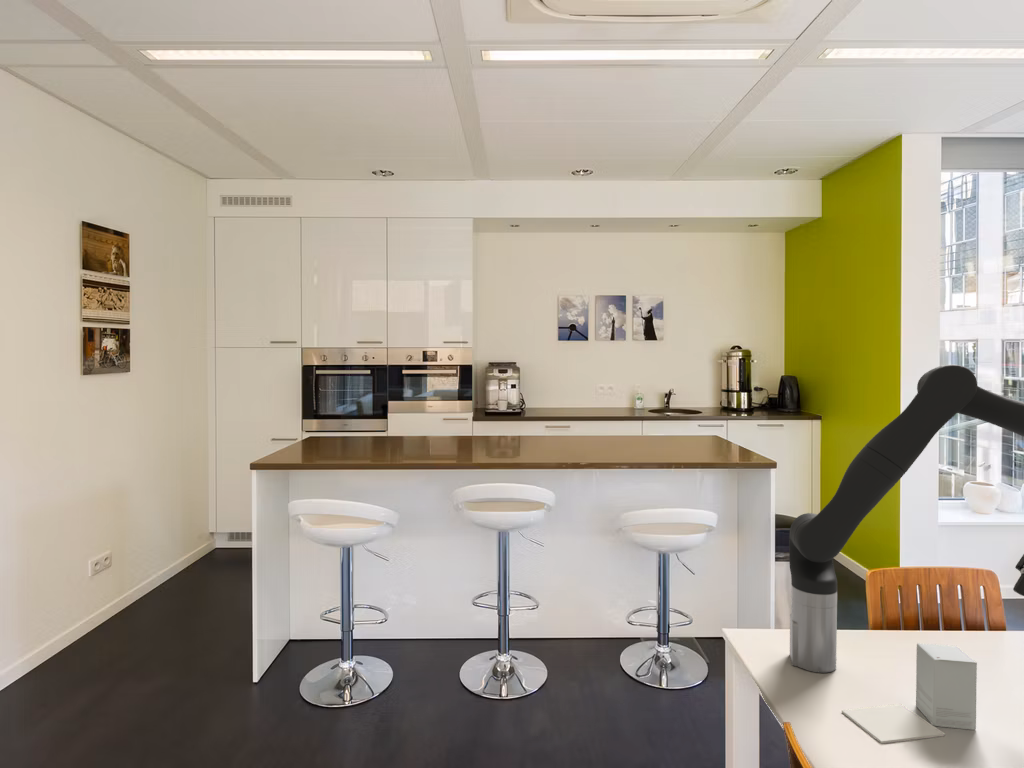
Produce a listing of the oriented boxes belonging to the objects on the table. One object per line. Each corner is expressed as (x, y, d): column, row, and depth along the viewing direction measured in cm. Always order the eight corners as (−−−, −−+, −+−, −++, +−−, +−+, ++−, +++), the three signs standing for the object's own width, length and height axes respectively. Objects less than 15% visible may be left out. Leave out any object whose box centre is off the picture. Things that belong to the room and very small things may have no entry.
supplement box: (977, 731, 112) (978, 663, 111) (932, 726, 113) (933, 659, 113) (956, 709, 119) (957, 645, 119) (914, 704, 121) (915, 641, 120)
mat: (881, 743, 108) (881, 741, 108) (841, 712, 118) (841, 710, 118) (944, 735, 110) (944, 733, 110) (900, 705, 120) (900, 703, 120)
